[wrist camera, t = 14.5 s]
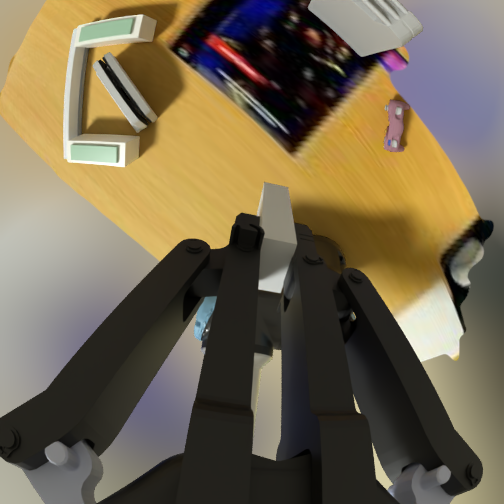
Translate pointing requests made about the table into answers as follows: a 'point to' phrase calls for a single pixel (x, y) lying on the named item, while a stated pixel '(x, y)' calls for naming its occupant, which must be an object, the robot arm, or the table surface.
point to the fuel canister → (368, 23)
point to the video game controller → (395, 125)
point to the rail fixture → (84, 37)
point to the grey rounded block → (117, 78)
